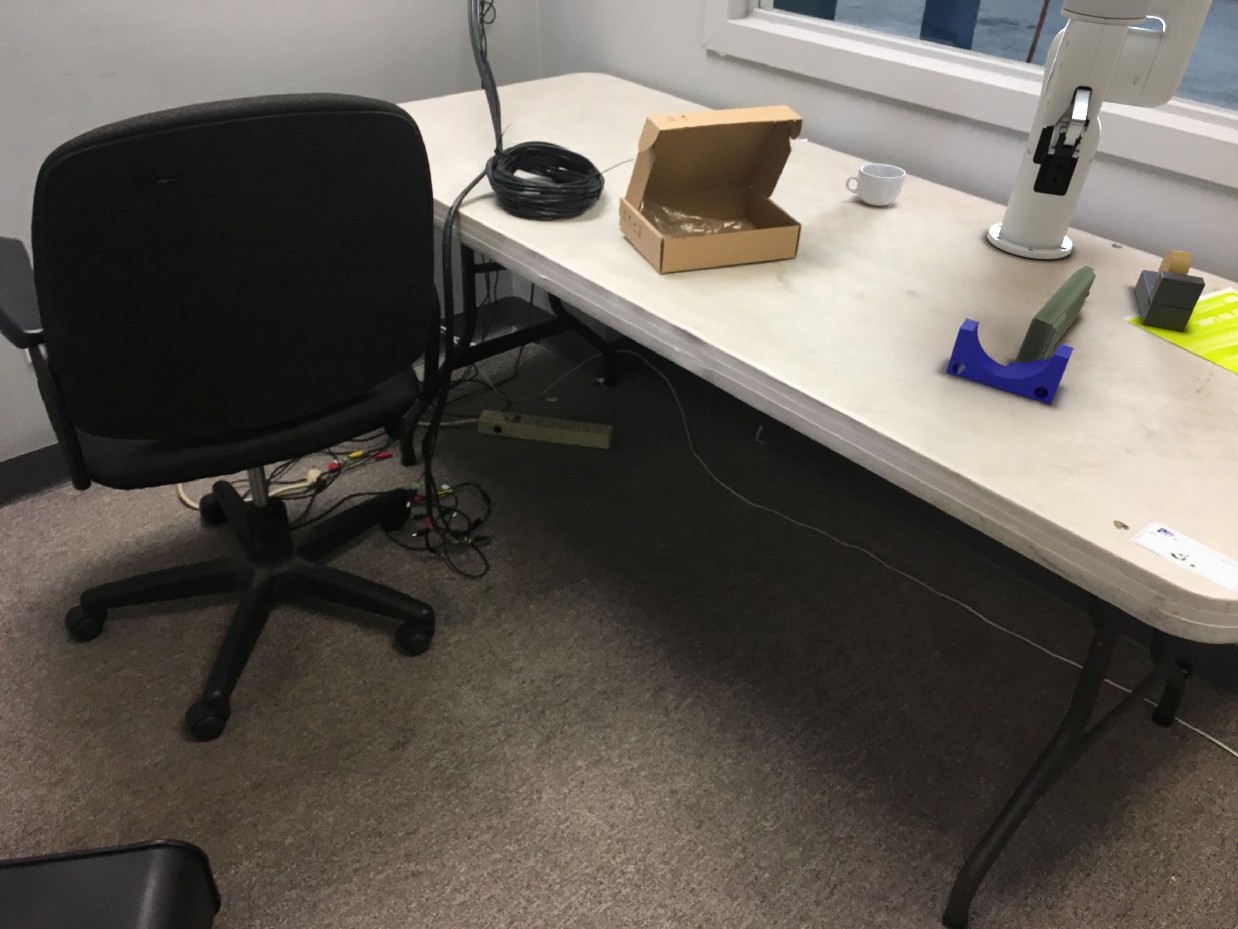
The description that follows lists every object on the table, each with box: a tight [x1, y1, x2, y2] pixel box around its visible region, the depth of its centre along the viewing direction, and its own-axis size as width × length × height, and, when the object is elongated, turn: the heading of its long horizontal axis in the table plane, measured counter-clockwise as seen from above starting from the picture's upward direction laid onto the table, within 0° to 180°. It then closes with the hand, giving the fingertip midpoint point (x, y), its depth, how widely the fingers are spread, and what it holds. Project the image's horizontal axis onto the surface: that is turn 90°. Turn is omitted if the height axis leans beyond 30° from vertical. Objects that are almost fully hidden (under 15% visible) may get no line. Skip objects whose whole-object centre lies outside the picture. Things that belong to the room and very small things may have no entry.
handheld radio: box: [1014, 265, 1096, 363], centre depth 111 cm, size 7×3×25 cm
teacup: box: [845, 162, 907, 207], centre depth 149 cm, size 10×8×5 cm
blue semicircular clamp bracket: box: [945, 318, 1074, 405], centre depth 101 cm, size 12×4×6 cm, turn 58°
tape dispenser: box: [1134, 249, 1206, 332], centre depth 118 cm, size 12×5×8 cm, turn 159°
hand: (1047, 178), depth 93 cm, fingers open, 9 cm apart
